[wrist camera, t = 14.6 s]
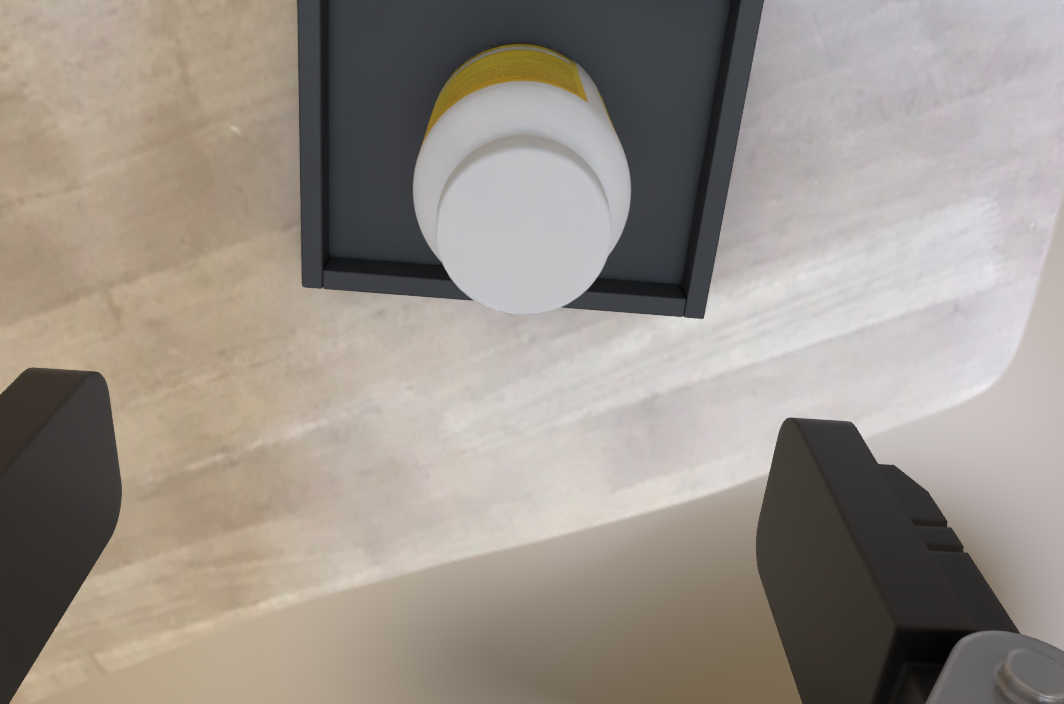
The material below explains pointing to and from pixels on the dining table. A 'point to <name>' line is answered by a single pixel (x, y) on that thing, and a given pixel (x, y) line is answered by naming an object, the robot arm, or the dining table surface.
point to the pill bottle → (521, 179)
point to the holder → (623, 82)
